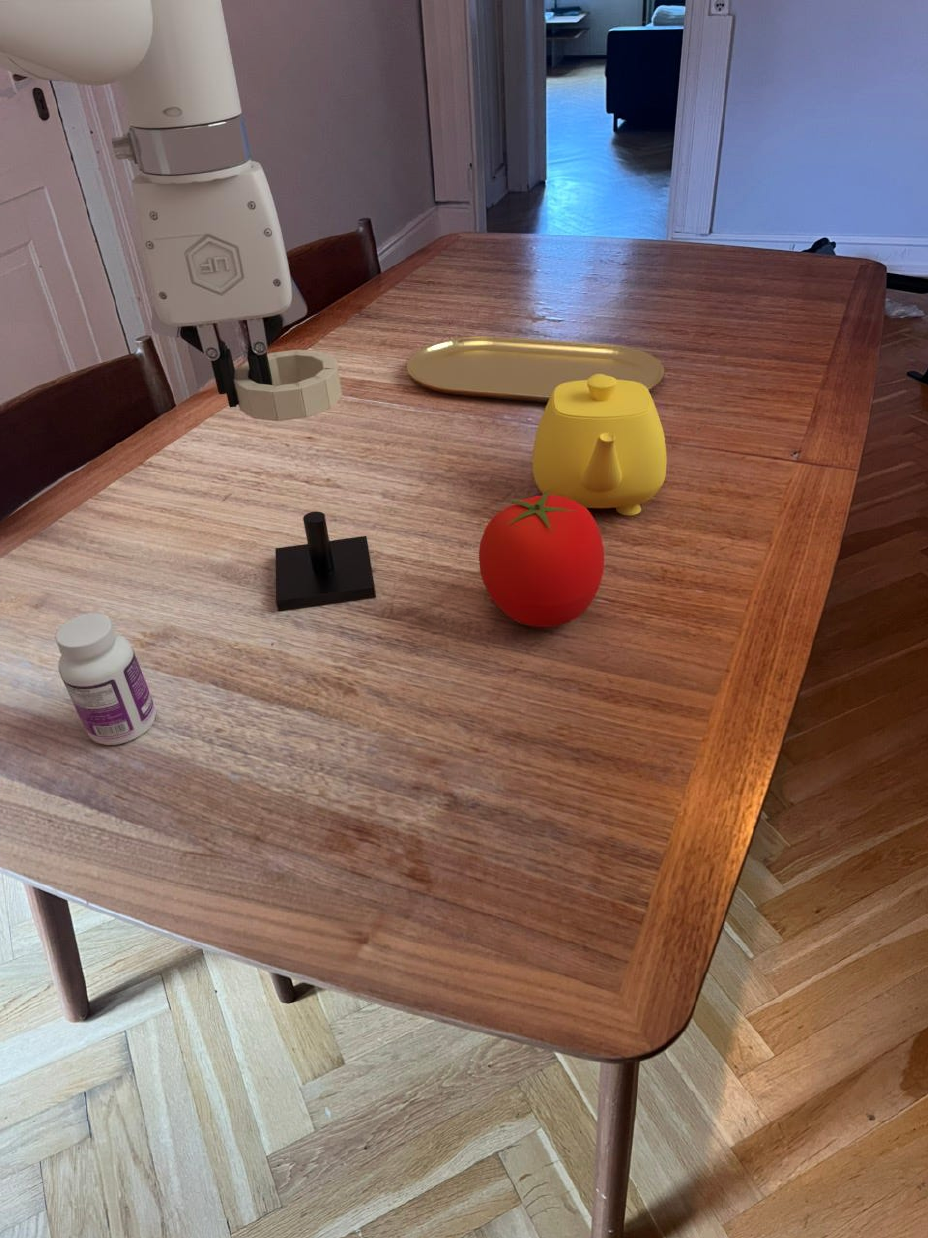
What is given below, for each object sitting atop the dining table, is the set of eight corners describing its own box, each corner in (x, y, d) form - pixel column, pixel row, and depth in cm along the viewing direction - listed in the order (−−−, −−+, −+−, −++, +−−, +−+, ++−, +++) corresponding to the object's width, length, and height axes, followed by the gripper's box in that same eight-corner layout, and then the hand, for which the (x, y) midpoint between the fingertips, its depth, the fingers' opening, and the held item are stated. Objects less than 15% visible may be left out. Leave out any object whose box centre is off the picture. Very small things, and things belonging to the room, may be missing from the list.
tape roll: (238, 426, 70) (231, 396, 68) (241, 384, 76) (235, 356, 75) (344, 413, 70) (340, 383, 69) (338, 372, 77) (334, 344, 75)
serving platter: (650, 417, 108) (651, 405, 107) (386, 393, 118) (385, 382, 117) (673, 359, 122) (674, 348, 121) (435, 342, 132) (434, 332, 131)
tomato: (628, 607, 78) (636, 500, 72) (547, 664, 73) (547, 555, 66) (540, 562, 84) (540, 460, 78) (460, 611, 79) (452, 507, 72)
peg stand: (277, 611, 81) (263, 550, 76) (277, 558, 88) (264, 499, 83) (376, 597, 81) (367, 535, 77) (367, 545, 88) (359, 486, 84)
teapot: (656, 455, 100) (665, 345, 92) (673, 553, 84) (686, 431, 77) (534, 456, 101) (533, 347, 94) (529, 553, 86) (527, 432, 78)
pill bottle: (125, 692, 73) (88, 598, 67) (171, 713, 70) (137, 617, 65) (72, 734, 69) (28, 638, 63) (119, 757, 67) (78, 660, 61)
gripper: (67, 171, 58) (146, 430, 69) (308, 147, 59) (346, 405, 70) (86, 150, 64) (156, 392, 75) (305, 129, 65) (341, 369, 76)
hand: (248, 397), depth 73 cm, fingers closed on tape roll, 1 cm apart
